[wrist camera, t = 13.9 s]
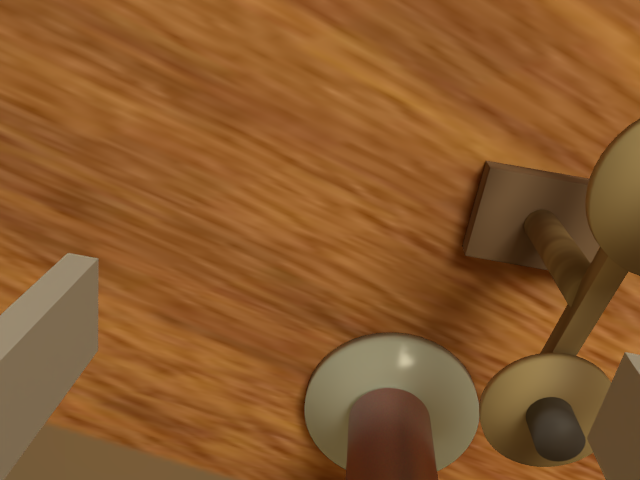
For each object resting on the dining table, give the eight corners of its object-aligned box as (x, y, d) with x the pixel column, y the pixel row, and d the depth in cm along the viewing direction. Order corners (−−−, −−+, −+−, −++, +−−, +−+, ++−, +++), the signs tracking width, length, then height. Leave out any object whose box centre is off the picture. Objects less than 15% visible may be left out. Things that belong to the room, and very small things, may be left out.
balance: (436, 336, 43) (466, 505, 30) (520, 40, 35) (615, 85, 21) (546, 356, 43) (627, 534, 30) (656, 64, 35) (841, 124, 21)
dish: (295, 453, 49) (293, 464, 48) (320, 318, 44) (318, 327, 42) (453, 481, 49) (455, 493, 48) (497, 350, 43) (500, 359, 42)
